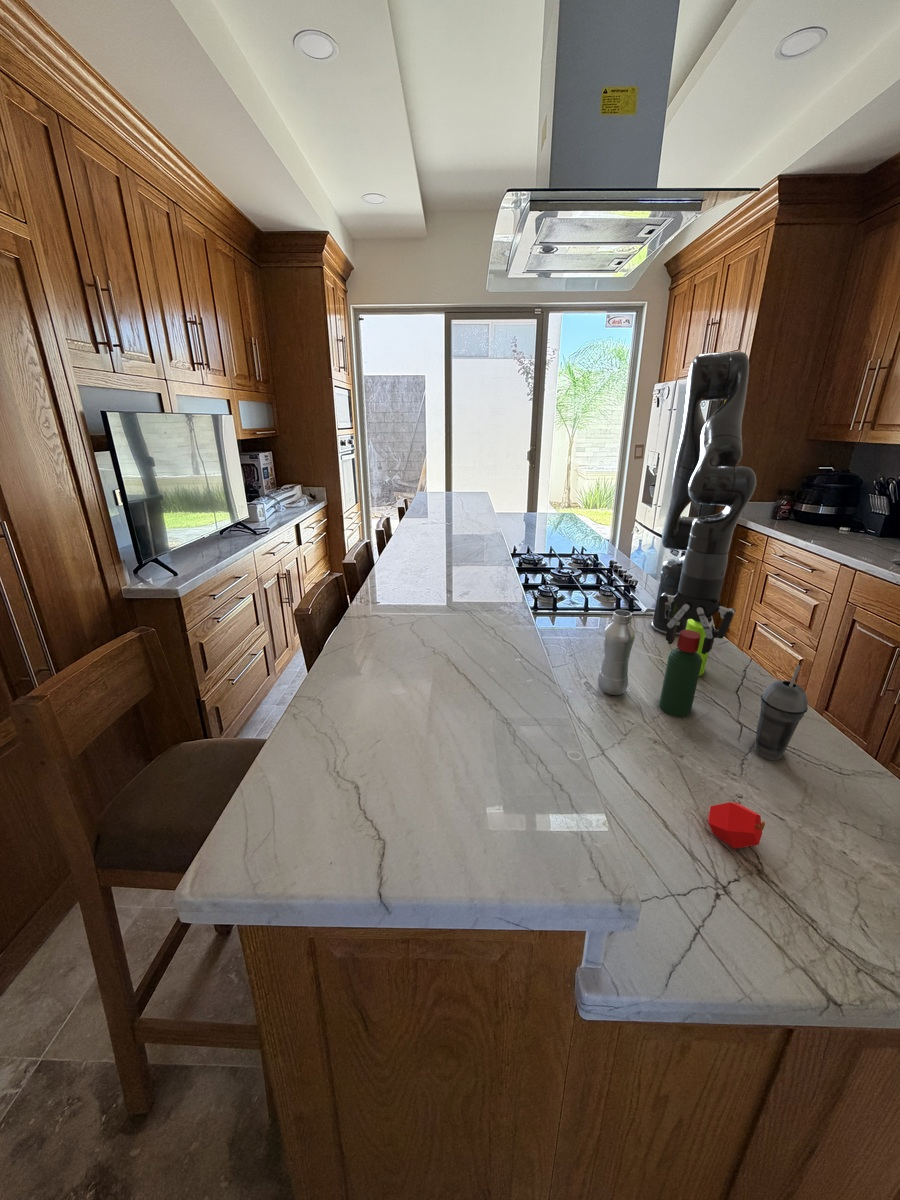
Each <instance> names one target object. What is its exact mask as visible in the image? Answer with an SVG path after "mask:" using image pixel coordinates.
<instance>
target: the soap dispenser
mask: <svg viewBox="0 0 900 1200" xmlns="http://www.w3.org/2000/svg"><path fill="white" fill-rule="evenodd" d="M715 626H716V624H714V627H715ZM686 630H692V631H695V632H697V633H699V634H700V635H701V637H700V642H699V647H698V651H697V653H698V654H699V655H700V656H701V658H702V664H701V669H700V673H699V677H700V676H701V677H702V676H703V675H704V674H705V669H706V665H707V662H708V661H707V660H708V657H709V653H708V652H707V653H706V654H702V653H701V652H702V648H703V643H704V639H705V637H706V634H705V631H704V629H703V627H702V624H701V622H697V621H695V620H693V619H688V621H687V626H686Z"/></svg>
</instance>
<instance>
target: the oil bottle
mask: <svg viewBox="0 0 900 1200" xmlns="http://www.w3.org/2000/svg"><path fill="white" fill-rule="evenodd" d="M666 661H667V662H666V668H665V671H664V677H663V681H662V686H661V687H662V688H661V691H660V692H661V693H660V698H659V702H658V706H659V709H660V710H661V711H662V712H664V713H665V714H668V715H669V716H671V717H675V718H684V717H688V716H690V714H691V712H692V708H693V704H694V699H695V695H696V691H697V685H698V681H699V677H700V676H699V673H700V669H701V664H702V658H701V656H700V655H699V654H698V653H697V652H694V653H689V652H684V651H682V650H680V649H678V647H677V648H674V649H671V650H670V651H669V653H668V657H667V660H666Z"/></svg>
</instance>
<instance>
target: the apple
mask: <svg viewBox="0 0 900 1200" xmlns="http://www.w3.org/2000/svg"><path fill="white" fill-rule="evenodd" d="M707 820H708V821H707V822H708V825H709V827H710V830H711V832H712V835H714V836H715V837H717V838H718V839H719V840H721V841H722V842H724V843H725V844H726V845H728V846H730V847H731V848H733V849H734V850H736V849H742V848H747V847H748V848H749V847H752V846H758V845H760V841H761V839H762V835H763V831H764V828H765V825H766V821H764V820H763V821H762V818H761V815H760V814H759V813H757V812H756V811H754V810H751V809H749V808H748V807H746V806H744V805H742V804H741V803H739V802H731V801H729V802H724V803H720V804H713V805H710V806H709V811H708V818H707Z"/></svg>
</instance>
